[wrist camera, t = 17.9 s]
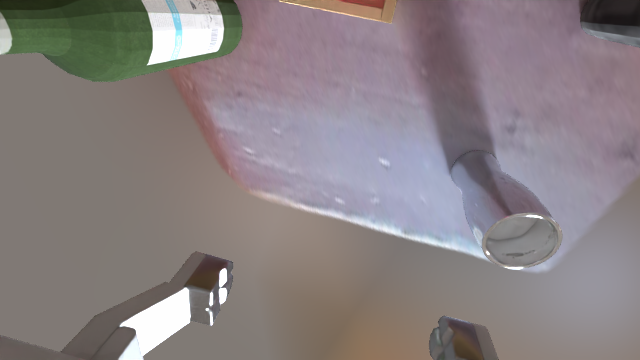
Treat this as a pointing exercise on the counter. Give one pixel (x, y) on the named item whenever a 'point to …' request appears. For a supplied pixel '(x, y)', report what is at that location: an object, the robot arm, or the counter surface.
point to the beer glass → (504, 213)
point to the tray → (353, 7)
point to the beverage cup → (613, 20)
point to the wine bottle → (120, 34)
